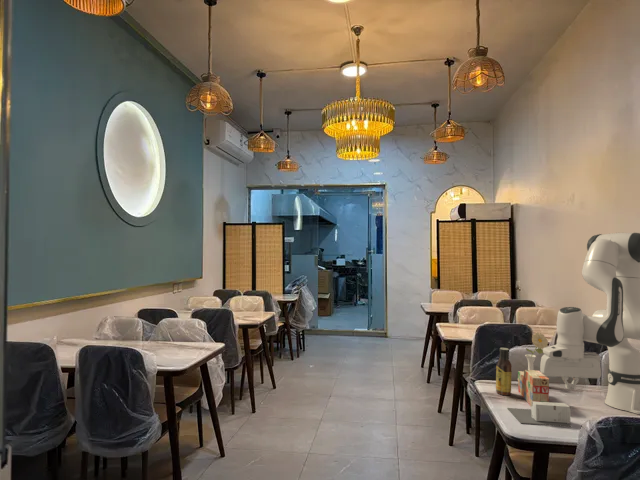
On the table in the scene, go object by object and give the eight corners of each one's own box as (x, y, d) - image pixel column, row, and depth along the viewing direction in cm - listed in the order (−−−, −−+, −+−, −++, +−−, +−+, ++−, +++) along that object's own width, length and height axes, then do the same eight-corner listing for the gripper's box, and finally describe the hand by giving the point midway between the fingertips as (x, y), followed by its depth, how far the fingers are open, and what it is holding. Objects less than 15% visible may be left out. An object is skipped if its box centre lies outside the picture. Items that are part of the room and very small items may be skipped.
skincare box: (571, 423, 152) (536, 422, 153) (564, 419, 156) (531, 417, 157) (570, 406, 152) (536, 404, 153) (564, 402, 157) (530, 400, 158)
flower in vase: (520, 387, 196) (521, 333, 197) (514, 380, 207) (515, 329, 208) (551, 390, 193) (551, 335, 194) (543, 382, 204) (544, 330, 205)
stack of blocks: (517, 391, 190) (517, 364, 190) (532, 392, 188) (532, 365, 189) (532, 408, 169) (532, 377, 169) (549, 409, 167) (549, 378, 168)
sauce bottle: (494, 390, 189) (494, 346, 190) (509, 392, 188) (509, 347, 189) (497, 395, 183) (498, 349, 184) (513, 396, 182) (513, 350, 183)
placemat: (552, 411, 165) (552, 410, 165) (571, 427, 150) (571, 425, 150) (507, 408, 167) (507, 407, 167) (521, 423, 152) (521, 422, 152)
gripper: (595, 350, 159) (595, 387, 159) (538, 348, 161) (538, 384, 161) (604, 354, 153) (604, 392, 152) (545, 352, 155) (545, 390, 155)
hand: (570, 388), depth 157 cm, fingers closed
